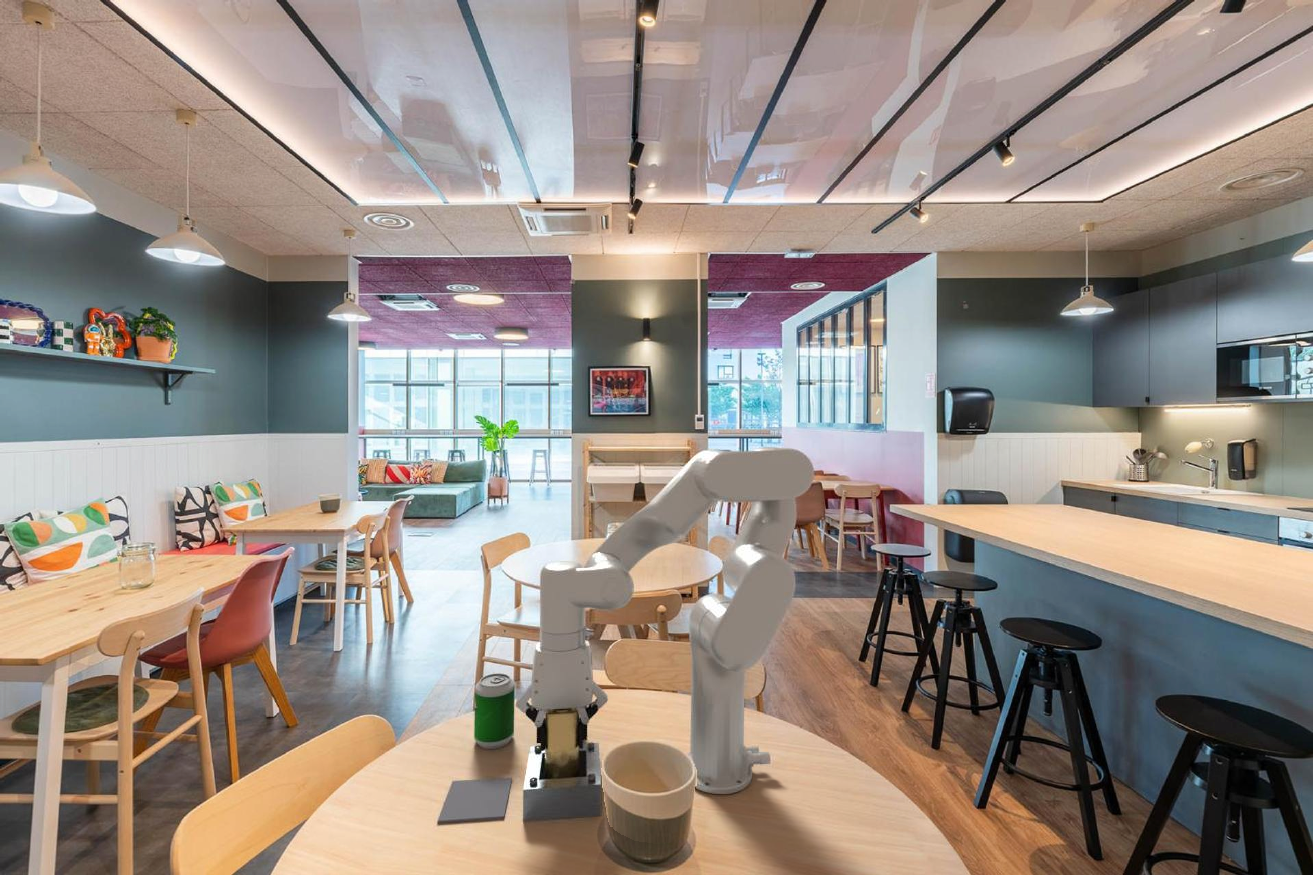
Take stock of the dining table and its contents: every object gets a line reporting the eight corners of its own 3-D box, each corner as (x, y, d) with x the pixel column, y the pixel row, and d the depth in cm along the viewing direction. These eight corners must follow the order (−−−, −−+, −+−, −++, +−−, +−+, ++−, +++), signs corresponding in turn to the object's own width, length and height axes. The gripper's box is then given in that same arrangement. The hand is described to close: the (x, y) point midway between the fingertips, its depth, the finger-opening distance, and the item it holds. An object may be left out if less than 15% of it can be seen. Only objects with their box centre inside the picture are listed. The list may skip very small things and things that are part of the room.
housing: (598, 770, 100) (598, 739, 100) (600, 815, 88) (600, 780, 88) (530, 774, 99) (530, 743, 99) (522, 821, 87) (523, 785, 87)
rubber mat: (512, 779, 97) (512, 777, 97) (504, 818, 87) (504, 815, 87) (452, 783, 96) (452, 780, 96) (437, 823, 86) (437, 820, 86)
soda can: (522, 737, 111) (523, 677, 111) (492, 755, 104) (493, 691, 104) (496, 726, 115) (496, 668, 115) (465, 743, 108) (466, 681, 108)
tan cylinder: (578, 774, 97) (579, 697, 96) (578, 795, 91) (579, 713, 91) (546, 777, 96) (546, 699, 96) (543, 798, 90) (544, 715, 90)
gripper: (612, 627, 98) (612, 730, 98) (512, 631, 96) (512, 736, 96) (615, 643, 91) (614, 754, 91) (507, 648, 88) (506, 761, 89)
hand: (562, 744), depth 93 cm, fingers closed on tan cylinder, 5 cm apart
